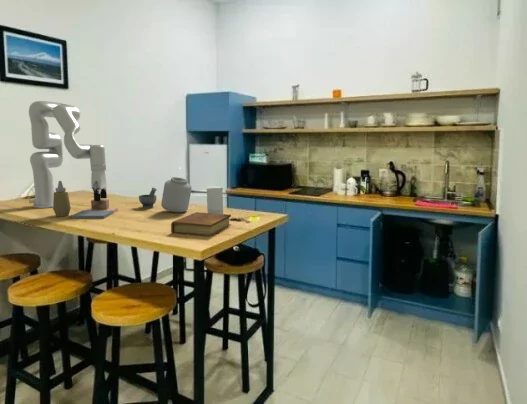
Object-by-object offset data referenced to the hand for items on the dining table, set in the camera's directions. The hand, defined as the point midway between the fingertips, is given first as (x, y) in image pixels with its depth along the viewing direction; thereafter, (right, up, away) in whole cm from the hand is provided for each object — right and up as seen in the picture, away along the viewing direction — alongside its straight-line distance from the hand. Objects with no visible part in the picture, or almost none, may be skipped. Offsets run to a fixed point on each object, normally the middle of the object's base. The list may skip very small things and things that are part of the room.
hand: (100, 199), depth 211 cm
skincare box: (+63, -9, -7) cm, 64 cm away
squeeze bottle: (-16, -9, -10) cm, 20 cm away
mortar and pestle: (+21, -5, +16) cm, 27 cm away
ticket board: (0, -8, -10) cm, 13 cm away
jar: (+41, -7, +5) cm, 42 cm away
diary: (+61, -14, -35) cm, 72 cm away
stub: (-1, -6, +1) cm, 7 cm away
